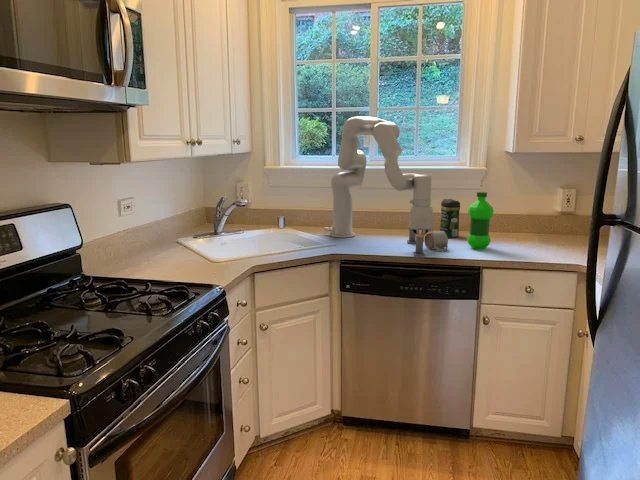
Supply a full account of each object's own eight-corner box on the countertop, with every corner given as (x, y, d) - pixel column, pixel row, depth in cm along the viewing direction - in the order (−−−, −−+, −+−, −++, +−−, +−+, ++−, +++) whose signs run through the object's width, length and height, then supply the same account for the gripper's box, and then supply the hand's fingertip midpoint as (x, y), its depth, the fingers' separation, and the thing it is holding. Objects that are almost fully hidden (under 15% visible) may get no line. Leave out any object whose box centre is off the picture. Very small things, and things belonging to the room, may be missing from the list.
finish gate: (414, 256, 207) (415, 236, 206) (406, 241, 235) (407, 223, 233) (424, 256, 207) (425, 236, 205) (416, 241, 235) (417, 223, 233)
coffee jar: (437, 234, 251) (438, 198, 247) (451, 234, 253) (453, 197, 249) (446, 238, 242) (448, 200, 238) (461, 237, 244) (463, 200, 240)
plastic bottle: (461, 246, 225) (465, 191, 219) (482, 245, 227) (486, 190, 222) (473, 251, 215) (477, 194, 210) (495, 250, 218) (499, 193, 213)
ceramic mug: (422, 247, 223) (423, 230, 221) (437, 245, 226) (438, 229, 224) (436, 252, 213) (437, 235, 212) (452, 251, 217) (453, 234, 215)
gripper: (405, 204, 213) (403, 245, 217) (440, 204, 212) (438, 246, 216) (403, 201, 221) (402, 242, 225) (437, 202, 220) (435, 242, 224)
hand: (419, 244), depth 220 cm, fingers closed
